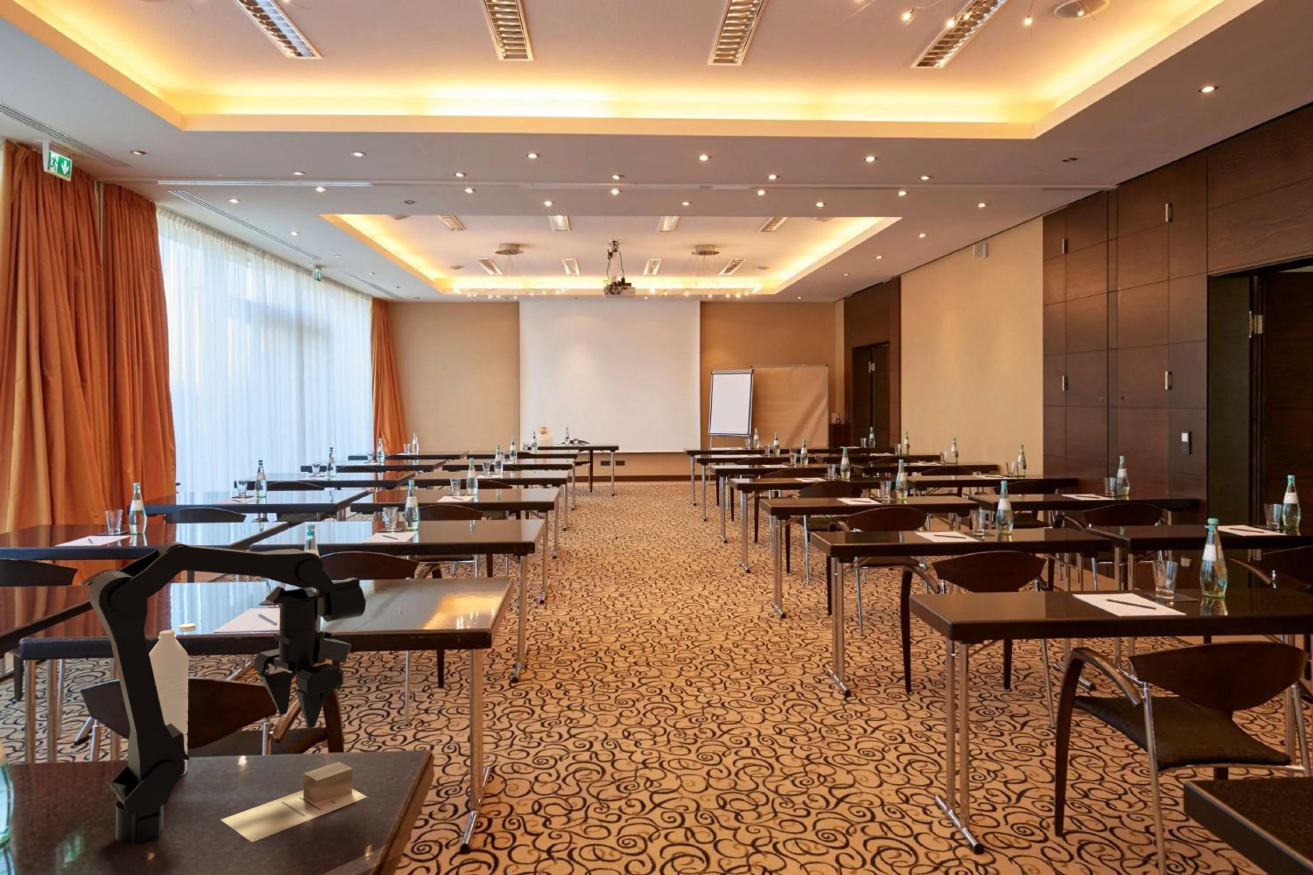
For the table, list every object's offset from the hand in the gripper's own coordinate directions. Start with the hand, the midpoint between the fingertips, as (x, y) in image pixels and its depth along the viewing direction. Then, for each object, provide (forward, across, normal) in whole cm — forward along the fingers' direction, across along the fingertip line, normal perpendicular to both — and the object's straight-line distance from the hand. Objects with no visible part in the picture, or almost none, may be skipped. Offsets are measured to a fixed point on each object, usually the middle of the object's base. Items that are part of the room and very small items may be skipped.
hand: (297, 720), depth 128 cm
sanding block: (+10, -8, -1) cm, 13 cm away
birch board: (+12, -8, +4) cm, 15 cm away
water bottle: (+12, +24, +10) cm, 29 cm away
